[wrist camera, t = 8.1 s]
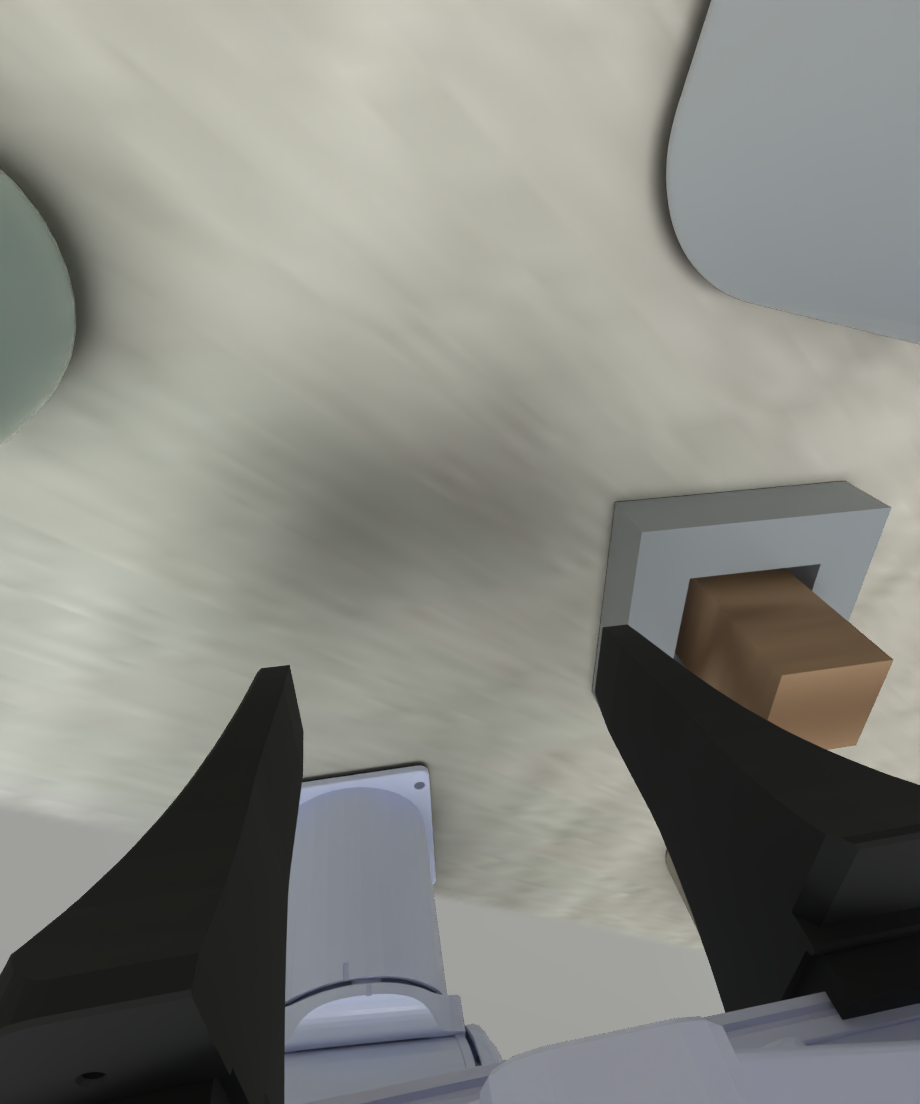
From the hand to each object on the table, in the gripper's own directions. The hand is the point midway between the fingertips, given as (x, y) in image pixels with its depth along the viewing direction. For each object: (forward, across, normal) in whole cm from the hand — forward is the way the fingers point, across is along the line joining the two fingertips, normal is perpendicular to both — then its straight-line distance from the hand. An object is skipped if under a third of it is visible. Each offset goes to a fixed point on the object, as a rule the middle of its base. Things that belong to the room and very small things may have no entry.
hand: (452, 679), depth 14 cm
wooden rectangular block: (+10, -13, +6) cm, 17 cm away
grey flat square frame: (+10, -13, +6) cm, 17 cm away
